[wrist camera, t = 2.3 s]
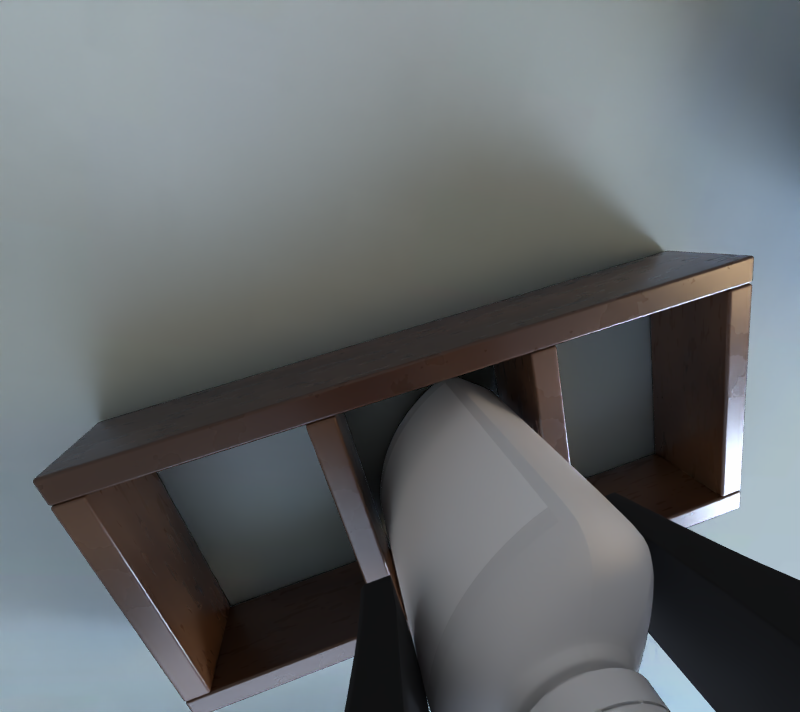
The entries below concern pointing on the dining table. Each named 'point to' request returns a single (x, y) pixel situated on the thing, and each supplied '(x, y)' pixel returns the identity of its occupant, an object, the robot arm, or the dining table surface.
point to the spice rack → (330, 435)
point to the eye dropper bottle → (512, 565)
